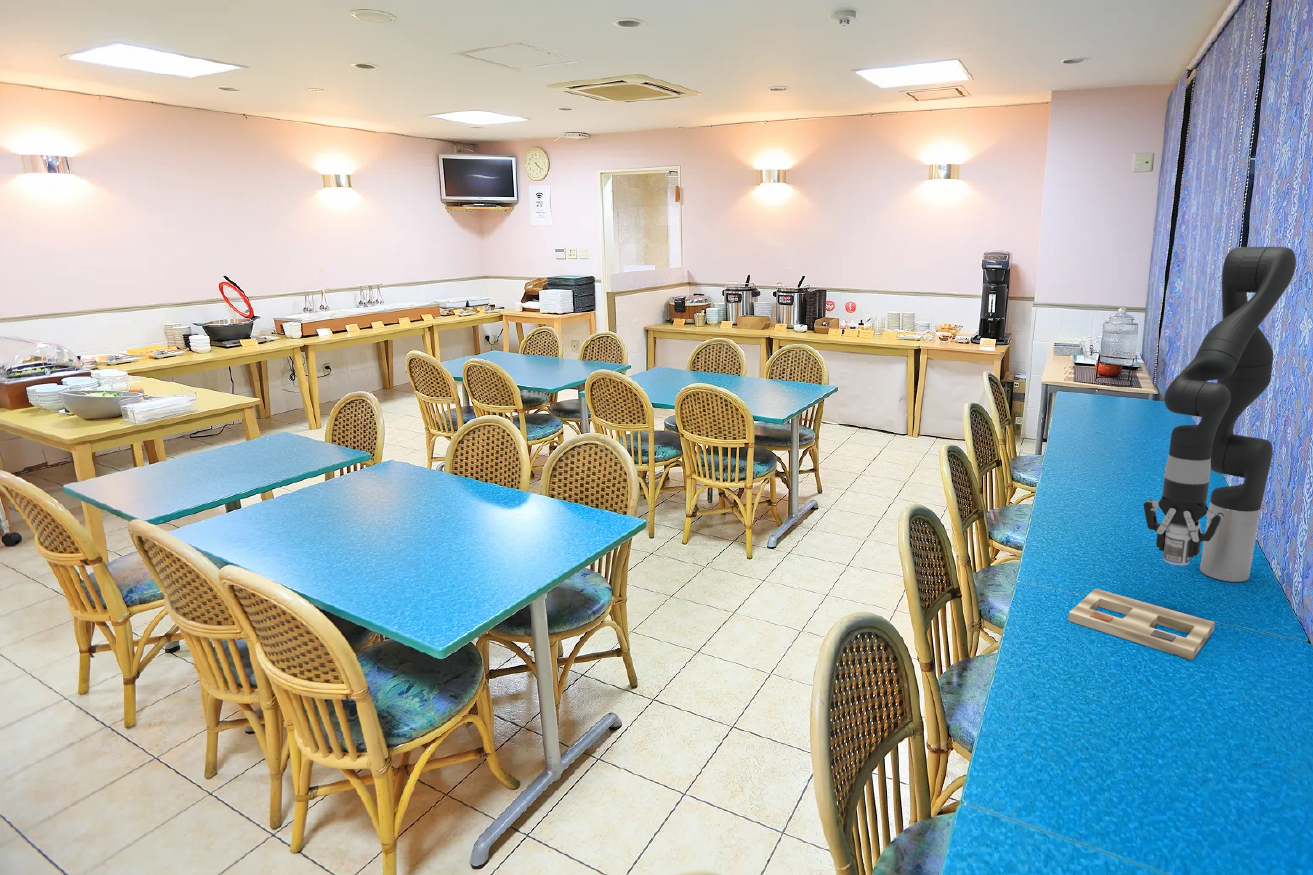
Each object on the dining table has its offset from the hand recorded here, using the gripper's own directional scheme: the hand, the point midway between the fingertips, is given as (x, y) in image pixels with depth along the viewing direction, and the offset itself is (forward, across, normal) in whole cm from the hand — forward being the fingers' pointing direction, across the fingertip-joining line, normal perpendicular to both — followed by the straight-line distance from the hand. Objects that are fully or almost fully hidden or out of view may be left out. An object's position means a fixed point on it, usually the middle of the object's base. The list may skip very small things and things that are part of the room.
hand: (1176, 552), depth 157 cm
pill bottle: (+2, 0, 0) cm, 2 cm away
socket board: (+13, +2, +13) cm, 18 cm away
